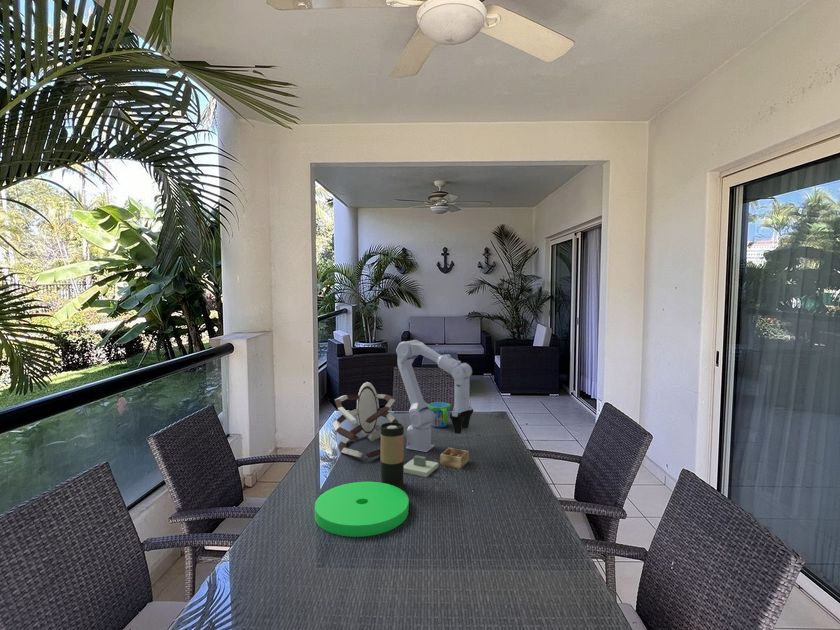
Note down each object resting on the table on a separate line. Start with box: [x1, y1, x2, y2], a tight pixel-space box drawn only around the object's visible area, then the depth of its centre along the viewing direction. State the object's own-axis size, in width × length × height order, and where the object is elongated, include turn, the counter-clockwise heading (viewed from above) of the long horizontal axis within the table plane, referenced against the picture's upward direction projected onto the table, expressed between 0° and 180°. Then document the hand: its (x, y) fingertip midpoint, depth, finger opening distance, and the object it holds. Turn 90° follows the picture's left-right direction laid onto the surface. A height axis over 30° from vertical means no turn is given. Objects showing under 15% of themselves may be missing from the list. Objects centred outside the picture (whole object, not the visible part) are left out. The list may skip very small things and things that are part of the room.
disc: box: [314, 481, 410, 538], centre depth 132 cm, size 27×27×3 cm
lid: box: [403, 454, 439, 478], centre depth 162 cm, size 10×10×5 cm
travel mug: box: [380, 422, 405, 489], centre depth 149 cm, size 8×8×20 cm
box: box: [439, 447, 469, 470], centre depth 168 cm, size 8×8×4 cm
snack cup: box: [428, 401, 452, 428], centre depth 214 cm, size 16×10×10 cm
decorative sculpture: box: [332, 381, 399, 459], centre depth 185 cm, size 24×27×35 cm
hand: (461, 430), depth 174 cm, fingers open, 7 cm apart
